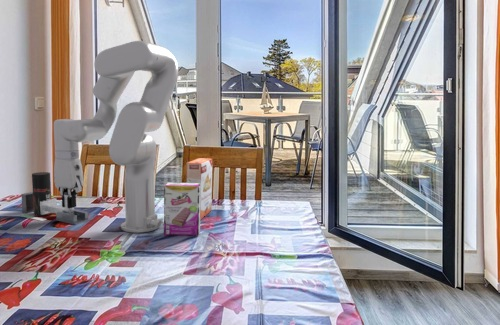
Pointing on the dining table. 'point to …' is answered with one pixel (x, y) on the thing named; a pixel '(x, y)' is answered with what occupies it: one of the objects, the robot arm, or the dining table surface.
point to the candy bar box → (182, 208)
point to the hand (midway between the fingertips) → (69, 206)
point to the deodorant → (40, 190)
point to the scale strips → (39, 218)
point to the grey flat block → (27, 202)
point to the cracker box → (202, 181)
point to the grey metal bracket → (73, 217)
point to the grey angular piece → (55, 206)
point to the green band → (27, 216)
